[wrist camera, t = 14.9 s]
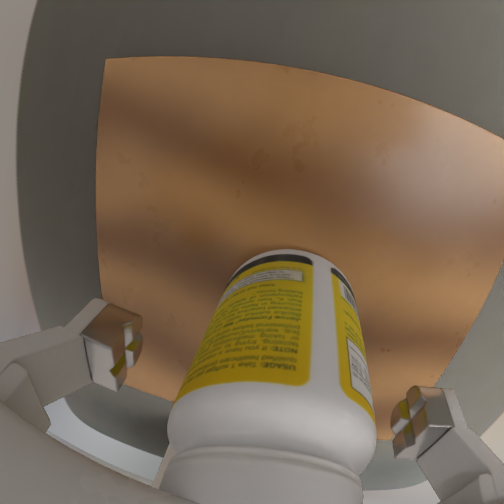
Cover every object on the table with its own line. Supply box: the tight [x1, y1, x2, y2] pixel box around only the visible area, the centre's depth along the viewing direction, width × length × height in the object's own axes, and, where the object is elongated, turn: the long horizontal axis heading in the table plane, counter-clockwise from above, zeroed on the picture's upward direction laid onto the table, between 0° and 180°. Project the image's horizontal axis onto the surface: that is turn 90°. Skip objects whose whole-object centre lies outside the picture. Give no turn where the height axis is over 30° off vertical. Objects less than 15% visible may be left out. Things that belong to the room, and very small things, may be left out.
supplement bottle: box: [159, 249, 377, 504], centre depth 8 cm, size 5×5×8 cm
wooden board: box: [96, 56, 504, 440], centre depth 12 cm, size 16×16×1 cm
